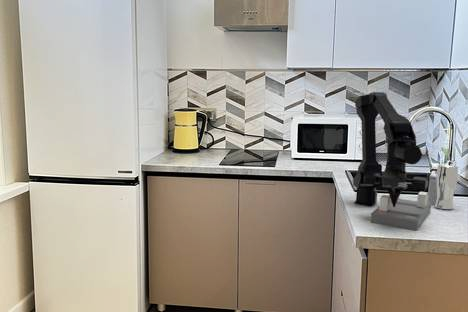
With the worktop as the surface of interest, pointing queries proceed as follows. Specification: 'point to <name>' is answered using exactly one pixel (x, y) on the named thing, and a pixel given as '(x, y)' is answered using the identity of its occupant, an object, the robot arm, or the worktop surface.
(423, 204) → the off-white block
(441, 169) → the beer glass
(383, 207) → the off-white switch lever
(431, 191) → the light bulb box
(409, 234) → the worktop surface
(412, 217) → the switch panel
